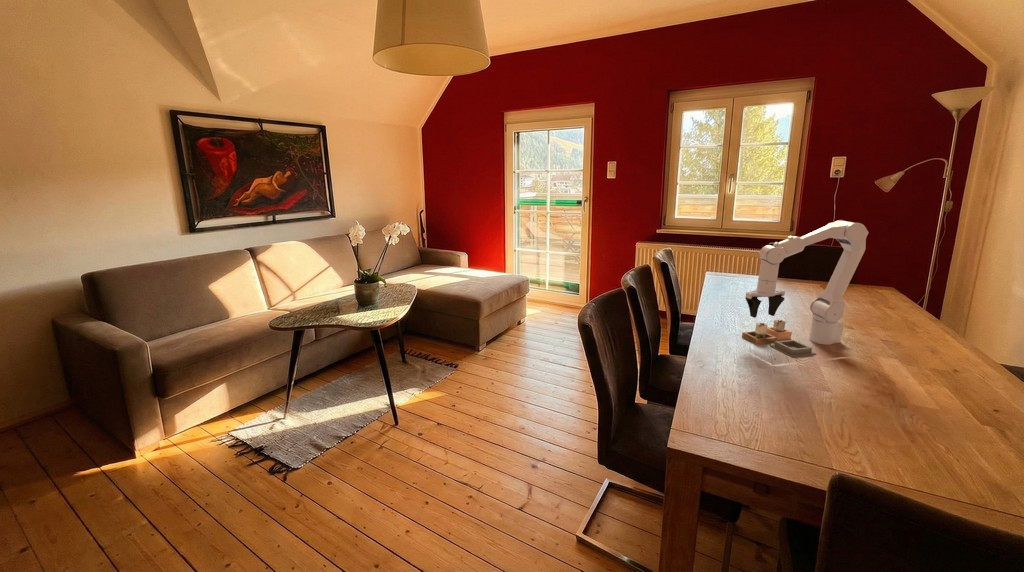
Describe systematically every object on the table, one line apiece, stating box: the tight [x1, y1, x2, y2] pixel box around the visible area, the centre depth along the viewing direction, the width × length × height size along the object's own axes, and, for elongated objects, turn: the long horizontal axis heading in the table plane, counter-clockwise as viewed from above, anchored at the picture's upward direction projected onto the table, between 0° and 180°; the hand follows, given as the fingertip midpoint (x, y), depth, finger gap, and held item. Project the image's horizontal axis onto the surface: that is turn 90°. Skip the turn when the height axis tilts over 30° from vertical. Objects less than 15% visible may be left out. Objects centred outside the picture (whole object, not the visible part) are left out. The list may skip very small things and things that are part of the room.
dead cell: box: [772, 319, 786, 332], centre depth 161 cm, size 4×4×6 cm
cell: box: [754, 322, 769, 339], centre depth 158 cm, size 4×4×6 cm
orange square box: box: [766, 326, 793, 341], centre depth 162 cm, size 6×6×3 cm
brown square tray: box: [741, 330, 778, 345], centre depth 159 cm, size 8×8×2 cm
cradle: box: [769, 339, 817, 358], centre depth 150 cm, size 10×10×3 cm
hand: (762, 315), depth 157 cm, fingers open, 7 cm apart
